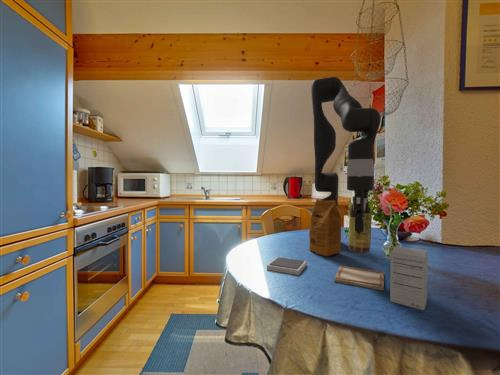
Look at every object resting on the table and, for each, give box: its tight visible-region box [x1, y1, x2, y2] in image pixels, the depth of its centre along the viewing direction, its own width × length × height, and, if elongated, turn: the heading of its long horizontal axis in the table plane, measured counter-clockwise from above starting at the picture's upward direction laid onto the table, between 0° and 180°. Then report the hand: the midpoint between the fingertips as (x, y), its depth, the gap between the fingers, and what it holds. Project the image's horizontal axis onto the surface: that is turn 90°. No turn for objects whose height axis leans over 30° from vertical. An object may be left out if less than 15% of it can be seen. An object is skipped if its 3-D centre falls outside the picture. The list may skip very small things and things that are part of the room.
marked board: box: [333, 265, 385, 291], centre depth 78 cm, size 13×13×1 cm
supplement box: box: [389, 245, 429, 311], centre depth 64 cm, size 7×7×13 cm
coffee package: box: [308, 198, 342, 257], centre depth 105 cm, size 10×12×22 cm
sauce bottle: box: [347, 191, 373, 254], centre depth 78 cm, size 6×6×20 cm
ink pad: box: [266, 256, 308, 276], centre depth 88 cm, size 10×11×2 cm
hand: (359, 229), depth 78 cm, fingers closed on sauce bottle, 6 cm apart
